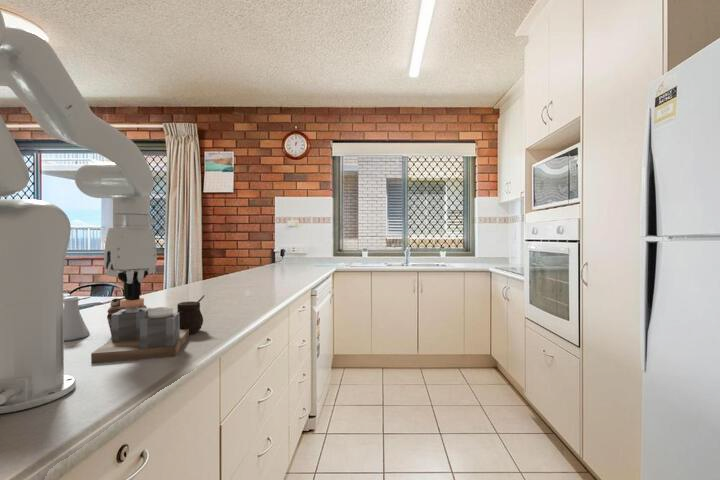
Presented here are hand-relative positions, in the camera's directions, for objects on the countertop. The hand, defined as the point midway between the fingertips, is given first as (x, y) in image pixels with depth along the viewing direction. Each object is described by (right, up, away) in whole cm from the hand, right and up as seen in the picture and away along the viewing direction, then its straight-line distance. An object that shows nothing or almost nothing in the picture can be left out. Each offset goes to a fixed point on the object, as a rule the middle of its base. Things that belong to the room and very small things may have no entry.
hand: (132, 299), depth 85 cm
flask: (-19, -11, +6) cm, 23 cm away
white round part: (+10, -7, -6) cm, 13 cm away
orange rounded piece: (0, -6, 0) cm, 6 cm away
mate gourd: (+8, -11, +11) cm, 18 cm away
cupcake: (-7, -11, +9) cm, 16 cm away
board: (+5, -11, -3) cm, 12 cm away
